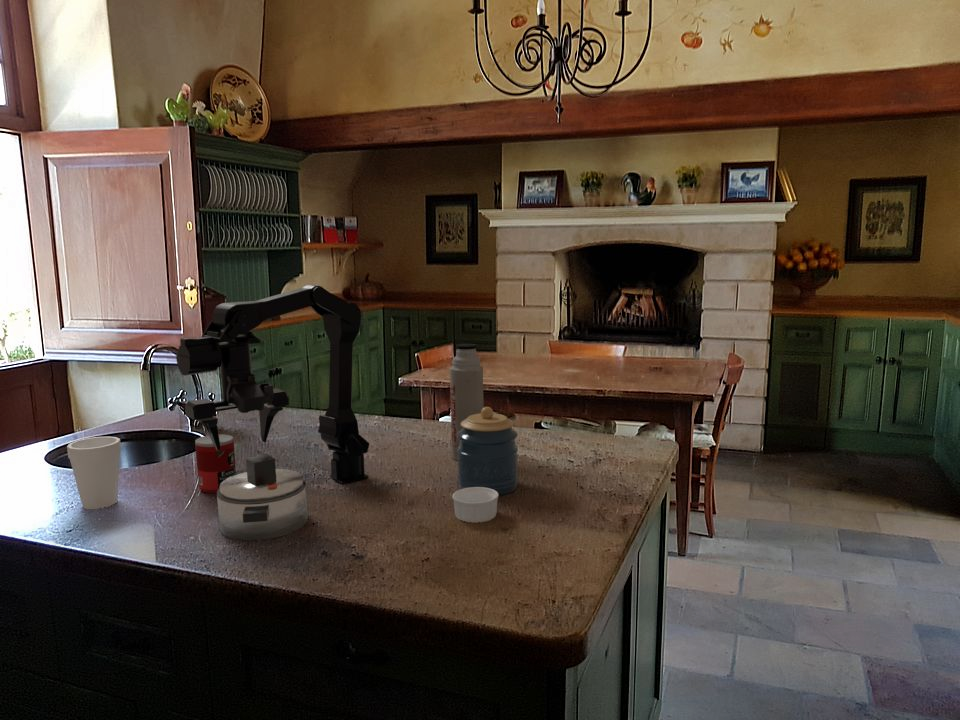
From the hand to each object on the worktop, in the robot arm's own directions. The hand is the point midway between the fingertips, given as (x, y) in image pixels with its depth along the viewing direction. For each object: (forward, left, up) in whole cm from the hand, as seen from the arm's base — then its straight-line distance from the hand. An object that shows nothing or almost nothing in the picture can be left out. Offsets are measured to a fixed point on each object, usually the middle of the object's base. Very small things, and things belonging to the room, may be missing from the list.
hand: (241, 445), depth 140 cm
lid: (0, +10, -6) cm, 11 cm away
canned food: (0, -16, -13) cm, 21 cm away
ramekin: (-33, +33, -13) cm, 48 cm away
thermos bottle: (-55, +2, -13) cm, 56 cm away
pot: (0, +10, -13) cm, 16 cm away
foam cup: (+22, -22, -13) cm, 34 cm away
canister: (-45, +22, -13) cm, 52 cm away
